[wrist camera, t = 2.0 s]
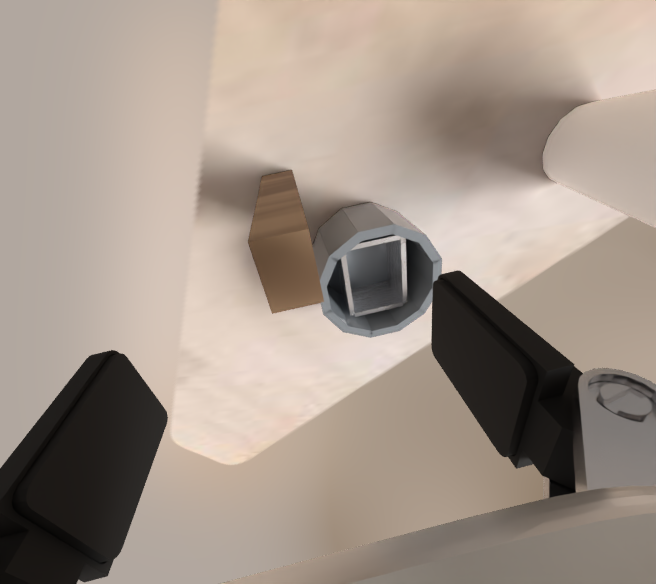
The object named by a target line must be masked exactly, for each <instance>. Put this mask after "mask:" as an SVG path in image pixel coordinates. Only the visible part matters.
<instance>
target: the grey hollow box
mask: <svg viewBox="0 0 656 584" xmlns="http://www.w3.org/2000/svg"><path fill="white" fill-rule="evenodd" d="M382 243H386V252H387V267H388V281H383V282H379V283H375V284H370V285H366V286H361V287H357V288H353V289H351V286H350V279H349V273H348V266H347V259H346V254H345V255H344V256H343V257H342V258H340V259H339V260H338V261H337V267H338V273H339V279H340V285H341V291H342V295H343V297H344V300H345V303H346V305H347V308H348V311H349V314H350V316H353V315H355V317H357V316H361V315H366V314H370V313H374V312H379V311H383V310H387V309H392V308H396V307H401V306H403V304H406V303H407V267H406V238H403V237H400V236H397V235H394V234H391V235H386V236H382V237H377V238H373V239H368V240H364V241H361V242H360V243H359V244H357V245H356V246H355V247H354V248H353V249H351V250H355V249H359V248H364V247H369V246H373V245H378V244H382Z"/></svg>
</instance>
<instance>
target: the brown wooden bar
mask: <svg viewBox="0 0 656 584" xmlns="http://www.w3.org/2000/svg"><path fill="white" fill-rule="evenodd" d="M248 244H249V247H250V250H251V253H252V256H253V259H254V261H255V264H256V267H257V270H258V273H259V276H260V279H261V282H262V285H263V288H264V291H265V294H266V297H267V300H268V303H269V306H270V309H271V311H272V314H273V313H277V312H282V311H286V310H290V309H295V308H299V307H304V306H308V305H312V304H317V303H321V302H324V298H323V293H322V289H321V284H320V279H319V275H318V270H317V265H316V261H315V256H314V251H313V247H312V242H311V237H310V233H309V228H308V225H307V221H306V218H305V214H304V211H303V207H302V204H301V200H300V197H299V193H298V189H297V186H296V182H295V179H294V175H293V172H292V170H289V171H284V172H280V173H275V174H270V175H265V176H262V179H261V184H260V188H259V193H258V198H257V202H256V207H255V212H254V216H253V221H252V225H251V230H250V235H249V239H248Z"/></svg>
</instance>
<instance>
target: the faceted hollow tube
mask: <svg viewBox="0 0 656 584" xmlns="http://www.w3.org/2000/svg"><path fill="white" fill-rule="evenodd" d="M391 234H394V235H397V236H400V237H403V238H406V267H407V303H406V304H403V306H401V307H396V308H392V309H387V310H383V311H379V312H374V313H370V314H366V315H361V316H357V317H355V315H353V316H350V314H349V311H348V308H347V305H346V303H345V300H344V297H343V295H342V291H341V285H340V279H339V273H338V267H337V261H338V260H339V259H340V258H342V257H343V256H344V255H345V254H346V259H347V266H348V273H349V279H350V286H351V289H353V288H357V287H361V286H366V285H370V284H375V283H379V282H383V281H388V267H387V252H386V243H382V244H378V245H373V246H369V247H364V248H359V249H355V250H351V249H353V248H354V247H355V246H356V245H357V244H359V243H360V242H361V241H364V240H368V239H373V238H377V237H382V236H386V235H391ZM312 247H313V251H314V256H315V261H316V265H317V270H318V275H319V279H320V284H321V289H322V293H323V298H324V302H321V307H322V311H323V315H325V316H326V317H327V318H328V319H329V320H330V321H331V322H332V323H334V324H335V325H336V326H337V327H338V328H339V329H340V330H341V331H343V332H345V333H350V334H355V335H360V336H365V337H370V338H371V337H375V336H380V335H384V334H388V333H392V332H397V331H400V330H402V329H403V328H404V327H406V326H407V325H409V324H410V323H412V322H413V321H414V320H416V319H417V318H419V317H420V316H422V315H423V314H424V313H425V312H426V311H427V309H428V307H429V306H430V304H431V302H432V297H433V282H434V281H436V280H438V276H439V275H441V270H442V258H441V257H440V255H439V254H438V252H437V251H436V249H435V248H434V246H433V245H432V243H431V242H430V240H429V239H428V237H427V236H426V235H425V234H424V233H423V232H422V231H421V230H419V229H418V228H417V227H416V226H414V225H413V224H412V223H411V222H409V221H408V220H407V219H406V218H405V217H403V216H402V215H401V214H400V213H398V212H397V211H395V210H392V209H389V208H386V207H384V206H381V205H378V204H375V203H372V202H369V203H365V204H360V205H355V206H351V207H346V208H342V209H341V210H339V211H338V212H337V213H336V214H335V215H334V216H332V217H331V218H330V219H329V220H328V221H327V222H326V223H324V224H323V225H322V226H321V227H320V228H319V229H318V232H317V235H316V238H315V241H314V243H313V246H312Z"/></svg>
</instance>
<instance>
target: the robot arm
mask: <svg viewBox="0 0 656 584" xmlns="http://www.w3.org/2000/svg"><path fill="white" fill-rule="evenodd" d="M432 352H433V354H434V356H435V358H436V360H437V361H438V363H439V364H440V366H441V367H442V369H443V370H444V372H445V373H446V375H447V376H448V378H449V379H450V381H451V382H452V383H453V385H454V387H455V388H456V390H457V391H458V392H459V394H460V395H461V397H462V399H463V400H464V402H465V403H466V405H467V406H468V408H469V409H470V410H471V412H472V414H473V415H474V417H475V418H476V419H477V421H478V423H479V424H480V426H481V427H482V428H483V430H484V431H485V433H486V434H487V436H488V437H489V439H490V441H491V442H492V444H493V445H494V446H495V448H496V449H497V451H498V452H499V453H500V454H501V455H502V456H503V457H509V459H510V460H511V462H512V463H513V465H514V466H515V467H516V468H521V467H524V466H528V465H532V464H534V465H535V466H536V468H537V469H538V470H539V472H540V473H541V475H542V476H544V499H543V500H539V501H535V502H530V503H526V504H522V505H518V506H514V507H510V508H506V509H502V510H497V511H493V512H489V513H485V514H481V515H477V516H473V517H469V518H465V519H461V520H457V521H454V522H450V523H446V524H443V525H438V526H435V527H431V528H427V529H423V530H420V531H416V532H412V533H408V534H404V535H400V536H397V537H393V538H389V539H385V540H382V541H377V542H374V543H370V544H366V545H362V546H358V547H355V548H351V549H348V550H343V551H340V552H336V553H332V554H328V555H325V556H321V557H317V558H313V559H310V560H306V561H302V562H299V563H295V564H291V565H288V566H284V567H280V568H276V569H273V570H269V571H265V572H262V573H257V574H254V575H250V576H246V577H243V578H239V579H235V580H232V581H228V582H224V583H220V584H656V384H654V383H652V382H651V381H649V380H647V379H645V378H642V377H640V376H638V375H636V374H632V373H629V372H625V371H622V370H616V369H609V368H598V369H592V370H589V371H586V372H584V373H582V372H581V371H579V370H578V369H577V368H575V367H574V364H573V363H572V362H571V361H570V360H568V359H567V358H566V357H564V356H563V355H562V354H561V353H560V352H558V351H557V350H556V349H555V348H554V347H552V346H551V345H550V344H549V343H548V342H546V341H545V340H544V339H543V338H541V337H540V336H539V335H538V334H537V333H535V332H534V331H533V330H532V329H531V328H529V327H528V326H527V325H526V324H524V323H523V322H522V321H520V319H518V318H517V317H516V316H515V315H513V314H512V313H511V312H510V311H508V310H507V309H506V308H505V307H504V306H503V305H501V304H500V303H499V302H498V301H496V300H495V299H494V298H493V297H492V296H490V295H489V294H488V293H487V292H485V291H484V290H483V289H482V288H481V287H479V286H478V285H477V284H476V283H474V282H473V281H472V280H471V279H470V278H468V277H467V276H466V275H465V274H464V273H462V272H461V271H454V272H449V273H445V274H441V275H439V276H438V280H436V281H434V282H433V297H432ZM167 418H168V417H167V412H166V410H165V409H164V407H163V406H162V405H161V403H160V402H159V400H158V399H157V398H156V396H155V395H154V394H153V392H152V391H151V390H150V388H149V387H148V385H147V384H146V383H145V381H144V380H143V379H142V377H141V376H140V374H139V373H138V372H137V370H136V369H135V368H134V366H133V365H132V363H131V362H130V361H129V360H128V358H127V357H126V356H125V355H124V354H120V353H118V352H117V351H113V350H111V351H107V352H103V353H99V354H94V355H91V356H89V357H88V358H87V359H86V360H85V362H84V363H83V364H82V365H81V367H80V368H79V369H78V371H77V372H76V373H75V374H74V376H73V377H72V378H71V379H70V381H69V382H68V383H67V385H66V386H65V387H64V388H63V390H62V391H61V392H60V393H59V395H58V396H57V397H56V398H55V400H54V401H53V402H52V404H51V405H50V406H49V408H48V409H47V410H46V411H45V413H44V414H43V415H42V416H41V418H40V419H39V420H38V421H37V423H36V424H35V425H34V426H33V428H32V429H31V430H30V431H29V433H28V434H27V435H26V437H25V438H24V439H23V440H22V442H21V443H20V444H19V445H18V447H17V448H16V449H15V450H14V452H13V453H12V454H11V456H10V457H9V458H8V459H7V461H6V462H5V463H4V465H3V466H2V467H1V468H0V584H76V583H77V581H78V579H79V580H81V581H83V582H87V581H91V580H95V579H99V578H102V577H106V576H108V573H109V571H110V568H111V565H112V563H113V560H114V559H115V558H116V557H117V556H118V555H119V553H120V552H121V549H122V547H123V544H124V542H125V539H126V536H127V533H128V530H129V528H130V524H131V522H132V519H133V516H134V513H135V511H136V508H137V505H138V502H139V499H140V497H141V494H142V491H143V488H144V486H145V483H146V480H147V477H148V474H149V472H150V469H151V466H152V463H153V460H154V458H155V455H156V452H157V449H158V446H159V444H160V441H161V438H162V435H163V432H164V429H165V427H166V424H167Z"/></svg>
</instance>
